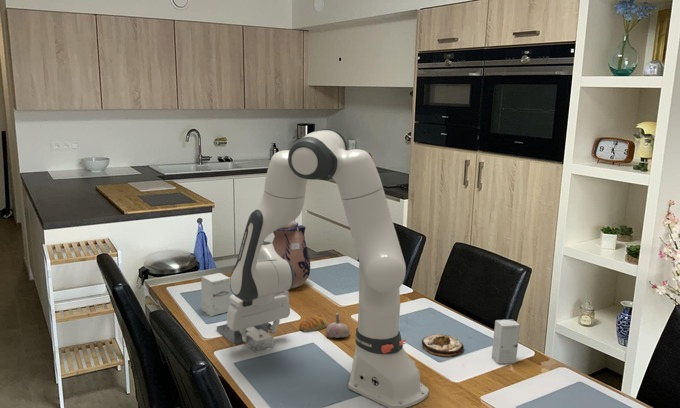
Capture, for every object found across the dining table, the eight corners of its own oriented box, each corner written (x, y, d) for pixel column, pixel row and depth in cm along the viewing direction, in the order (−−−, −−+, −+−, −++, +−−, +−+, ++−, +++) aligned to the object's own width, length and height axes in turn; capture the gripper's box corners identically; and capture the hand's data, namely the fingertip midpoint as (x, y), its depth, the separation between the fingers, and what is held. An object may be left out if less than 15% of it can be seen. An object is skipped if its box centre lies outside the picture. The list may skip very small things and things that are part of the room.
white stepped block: (272, 347, 166) (272, 336, 166) (256, 352, 163) (257, 340, 162) (255, 334, 174) (255, 324, 174) (240, 339, 171) (240, 328, 170)
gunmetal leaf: (268, 335, 174) (268, 321, 173) (234, 344, 167) (234, 331, 166) (249, 322, 184) (249, 309, 183) (216, 330, 176) (216, 317, 175)
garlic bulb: (322, 338, 173) (323, 315, 172) (330, 329, 180) (331, 307, 179) (344, 343, 171) (345, 319, 169) (352, 334, 178) (353, 310, 176)
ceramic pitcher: (308, 294, 211) (309, 231, 206) (253, 292, 211) (254, 229, 206) (311, 279, 228) (312, 220, 223) (260, 277, 228) (261, 218, 223)
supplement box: (211, 317, 187) (210, 281, 184) (201, 310, 192) (200, 275, 190) (230, 311, 192) (230, 277, 189) (219, 305, 197) (219, 271, 194)
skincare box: (498, 364, 160) (502, 326, 158) (490, 357, 165) (494, 319, 162) (517, 363, 162) (521, 324, 159) (509, 356, 166) (513, 318, 164)
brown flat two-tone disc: (436, 364, 160) (437, 351, 160) (409, 343, 174) (410, 330, 173) (476, 355, 167) (477, 343, 166) (447, 335, 180) (448, 324, 179)
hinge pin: (272, 327, 180) (272, 320, 179) (266, 329, 179) (266, 322, 178) (259, 318, 187) (259, 312, 186) (253, 320, 185) (253, 313, 185)
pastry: (307, 335, 176) (308, 324, 175) (294, 328, 181) (294, 317, 180) (329, 327, 182) (329, 316, 182) (315, 321, 187) (315, 310, 186)
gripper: (283, 284, 173) (282, 325, 176) (224, 297, 160) (224, 341, 163) (294, 290, 168) (293, 332, 171) (234, 304, 155) (234, 349, 158)
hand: (259, 336), depth 167 cm, fingers open, 8 cm apart
